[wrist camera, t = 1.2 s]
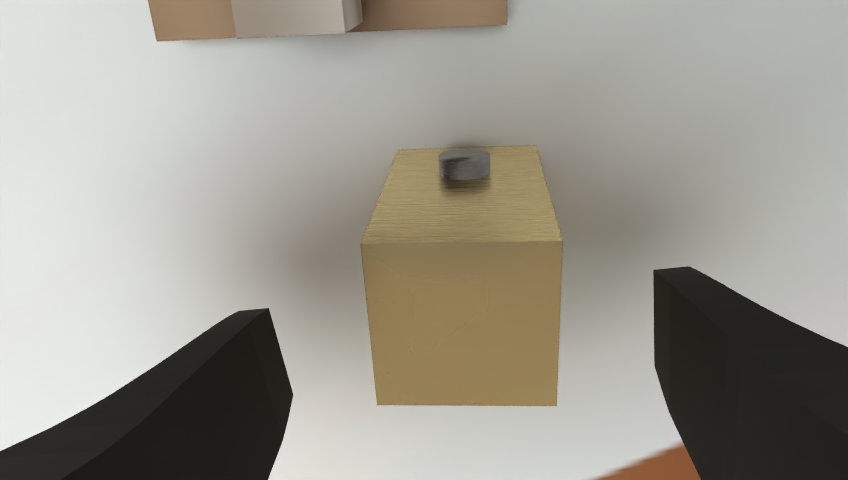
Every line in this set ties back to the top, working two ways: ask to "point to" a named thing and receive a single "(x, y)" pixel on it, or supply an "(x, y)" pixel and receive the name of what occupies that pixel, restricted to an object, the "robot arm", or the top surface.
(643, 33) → the top surface
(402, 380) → the wooden block with knob
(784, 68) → the top surface
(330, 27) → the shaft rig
